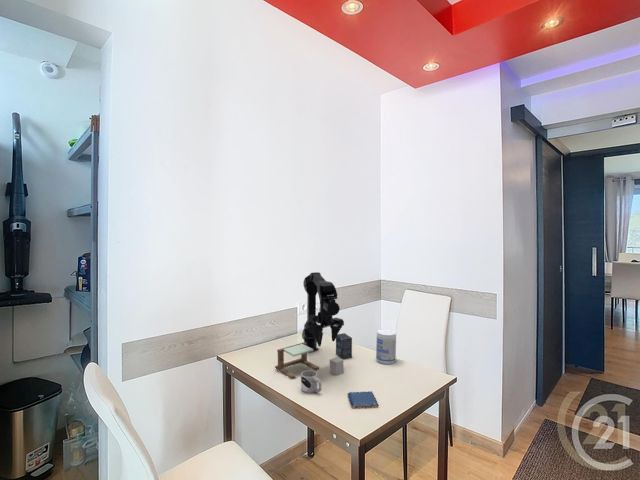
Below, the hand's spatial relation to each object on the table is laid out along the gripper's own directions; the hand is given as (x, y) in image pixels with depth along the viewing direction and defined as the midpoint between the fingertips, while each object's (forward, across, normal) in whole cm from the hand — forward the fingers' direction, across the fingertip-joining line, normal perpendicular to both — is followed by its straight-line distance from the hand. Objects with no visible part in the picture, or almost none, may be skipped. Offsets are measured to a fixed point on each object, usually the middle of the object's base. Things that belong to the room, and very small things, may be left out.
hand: (326, 343), depth 153 cm
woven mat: (+14, +9, +28) cm, 32 cm away
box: (+13, -20, -7) cm, 25 cm away
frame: (+13, +8, -12) cm, 19 cm away
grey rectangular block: (+13, -3, +4) cm, 14 cm away
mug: (+14, +17, +8) cm, 23 cm away
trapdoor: (+4, +8, -11) cm, 14 cm away
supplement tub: (+13, -30, +12) cm, 35 cm away
